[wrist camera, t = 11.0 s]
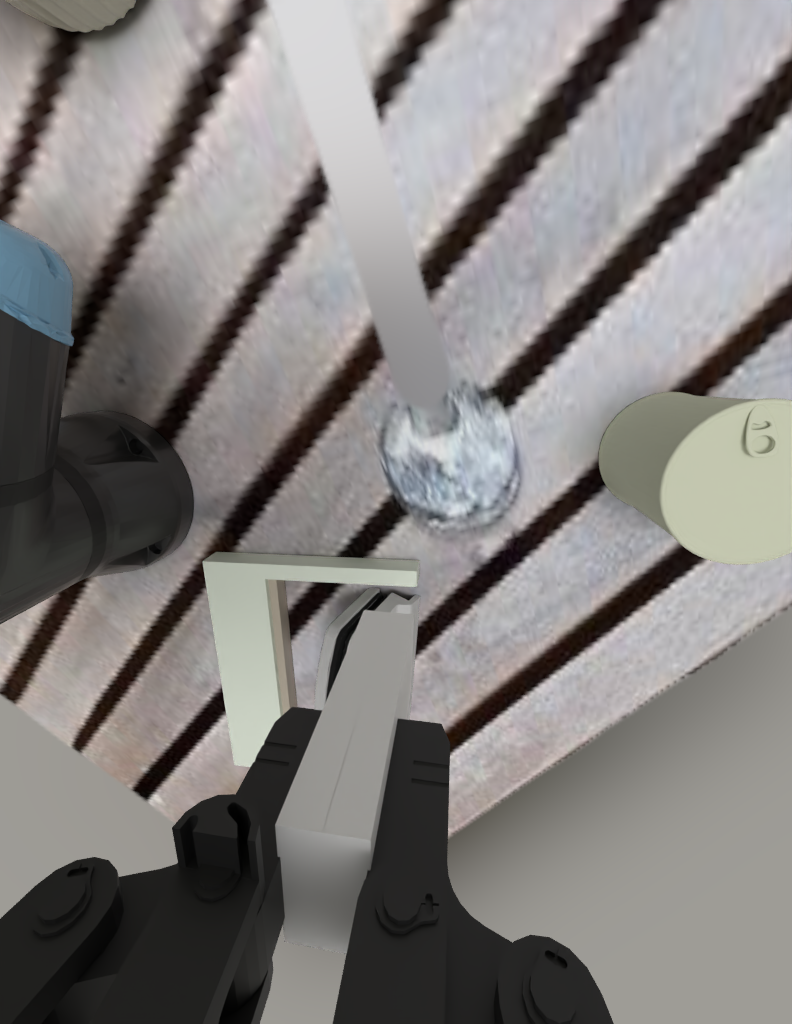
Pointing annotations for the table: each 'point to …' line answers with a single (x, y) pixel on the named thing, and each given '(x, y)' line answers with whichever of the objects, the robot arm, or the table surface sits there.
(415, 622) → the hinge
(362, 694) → the robot arm
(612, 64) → the table surface
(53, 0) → the canister
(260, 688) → the beige flat angled piece
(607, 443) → the can
